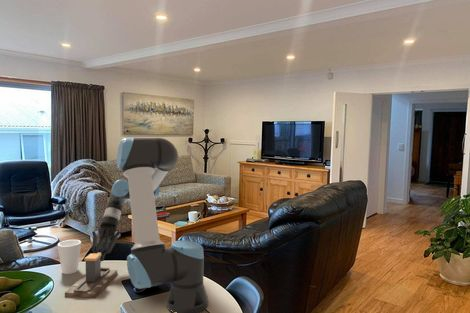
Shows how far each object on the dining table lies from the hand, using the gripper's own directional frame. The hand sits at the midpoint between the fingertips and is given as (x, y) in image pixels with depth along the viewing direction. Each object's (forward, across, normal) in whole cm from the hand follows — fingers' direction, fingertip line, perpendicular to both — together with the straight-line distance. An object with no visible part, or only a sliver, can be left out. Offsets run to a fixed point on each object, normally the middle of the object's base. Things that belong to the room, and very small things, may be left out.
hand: (95, 268), depth 146 cm
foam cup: (-2, +16, -9) cm, 18 cm away
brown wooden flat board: (+7, -1, -1) cm, 7 cm away
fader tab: (+5, -1, 0) cm, 5 cm away
